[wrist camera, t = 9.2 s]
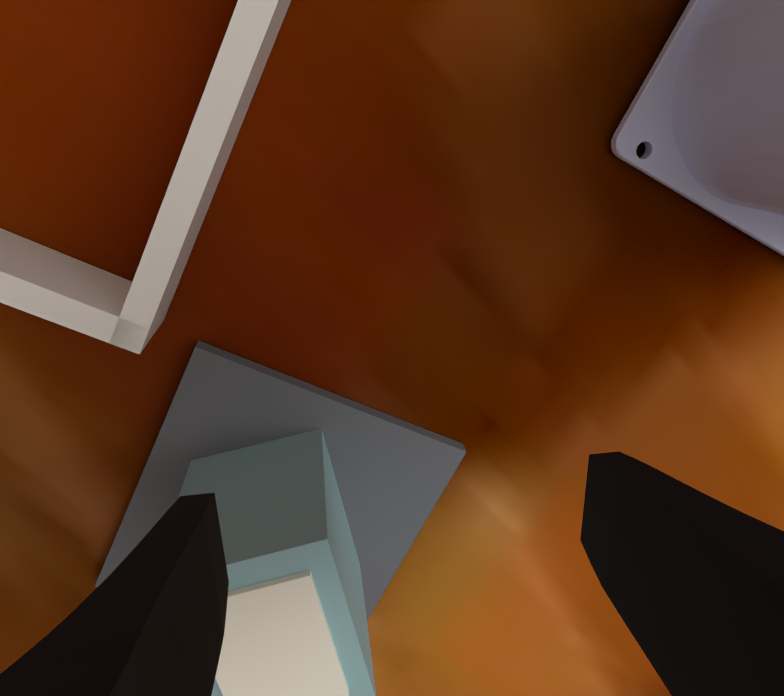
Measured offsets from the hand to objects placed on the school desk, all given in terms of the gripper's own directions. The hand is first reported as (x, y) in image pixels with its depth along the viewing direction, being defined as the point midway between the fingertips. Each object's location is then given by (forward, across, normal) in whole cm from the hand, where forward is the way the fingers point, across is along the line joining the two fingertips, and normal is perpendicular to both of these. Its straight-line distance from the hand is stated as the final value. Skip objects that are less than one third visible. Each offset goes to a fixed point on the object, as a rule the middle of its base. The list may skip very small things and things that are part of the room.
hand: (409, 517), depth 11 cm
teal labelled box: (+9, +3, +6) cm, 11 cm away
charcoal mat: (+9, +3, +6) cm, 12 cm away
